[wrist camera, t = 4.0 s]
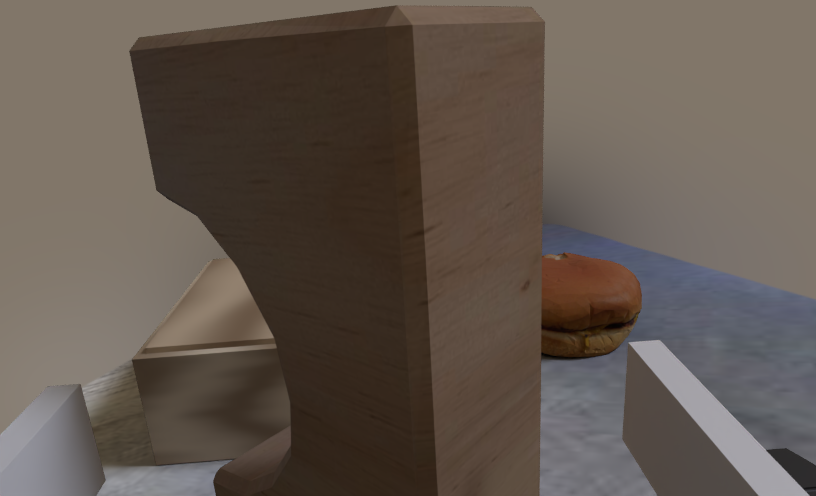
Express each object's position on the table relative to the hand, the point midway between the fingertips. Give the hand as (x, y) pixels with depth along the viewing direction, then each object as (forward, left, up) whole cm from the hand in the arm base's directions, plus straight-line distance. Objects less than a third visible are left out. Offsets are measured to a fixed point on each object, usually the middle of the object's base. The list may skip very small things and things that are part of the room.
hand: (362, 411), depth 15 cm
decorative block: (-1, +5, -11) cm, 12 cm away
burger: (+13, +25, -11) cm, 31 cm away
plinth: (-6, +21, -11) cm, 24 cm away
